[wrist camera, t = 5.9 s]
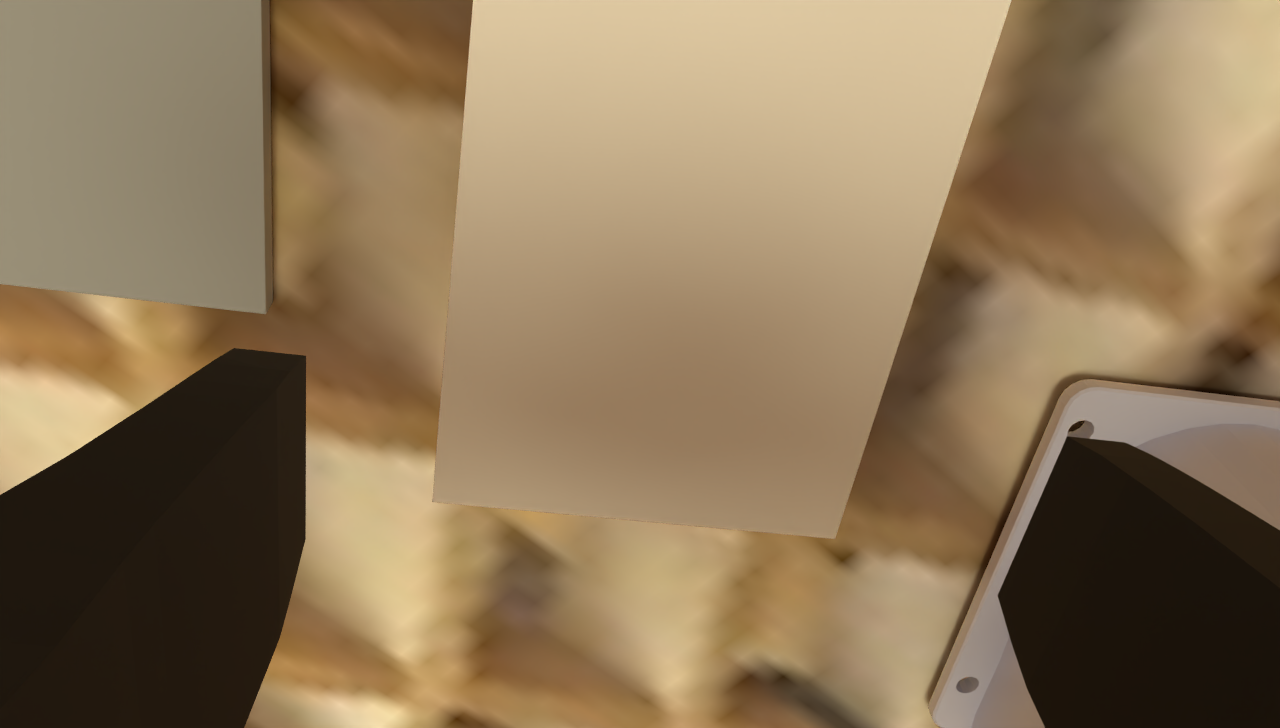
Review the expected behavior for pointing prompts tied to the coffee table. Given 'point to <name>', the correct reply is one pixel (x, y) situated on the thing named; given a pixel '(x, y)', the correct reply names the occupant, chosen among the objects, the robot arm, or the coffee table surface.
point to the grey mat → (137, 150)
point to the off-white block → (693, 248)
